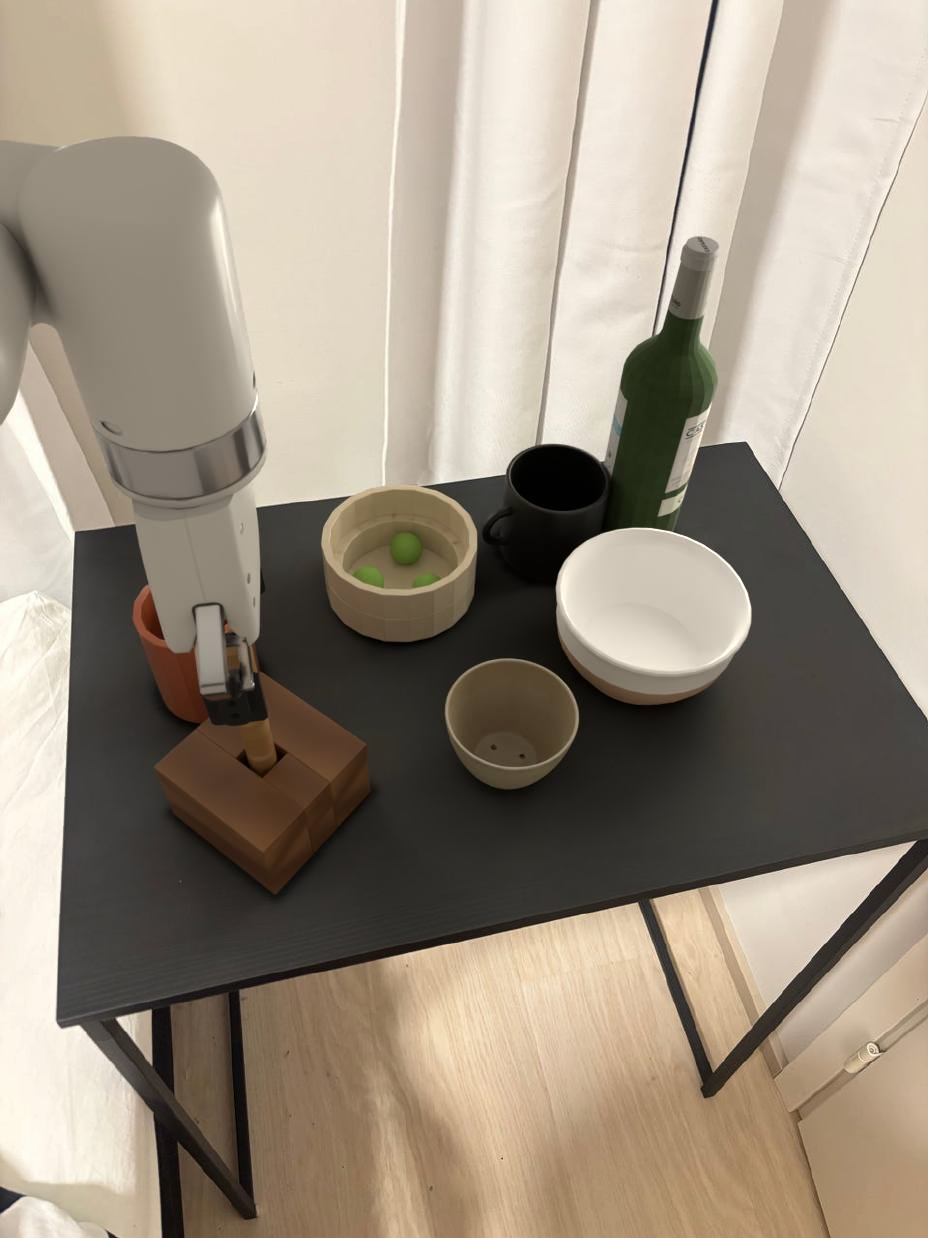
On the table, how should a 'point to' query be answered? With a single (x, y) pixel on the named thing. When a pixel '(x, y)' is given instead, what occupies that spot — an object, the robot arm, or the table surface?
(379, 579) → the pea
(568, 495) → the mug
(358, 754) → the holder
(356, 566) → the mixing bowl
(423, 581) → the pea
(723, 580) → the bowl
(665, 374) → the wine bottle
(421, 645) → the table surface
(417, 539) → the pea
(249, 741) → the wooden dowel peg
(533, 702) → the flower pot
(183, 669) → the crock
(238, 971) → the table surface
